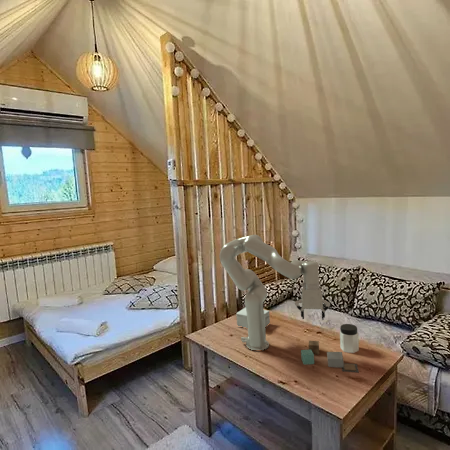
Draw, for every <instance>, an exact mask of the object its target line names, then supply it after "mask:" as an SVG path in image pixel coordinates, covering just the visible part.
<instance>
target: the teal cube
mask: <svg viewBox="0 0 450 450" xmlns="http://www.w3.org/2000/svg"><path fill="white" fill-rule="evenodd" d="M300 357H301V361H302V364H303V365H314V364H315V354H313V352H312V350H311V349H310V350H309V349H301V350H300Z"/></svg>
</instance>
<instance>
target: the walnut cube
mask: <svg viewBox="0 0 450 450" xmlns="http://www.w3.org/2000/svg"><path fill="white" fill-rule="evenodd" d="M310 349H311V350H312V352H313V354H314V355H318V356H319V355H320V341H319V340H308V350H310Z"/></svg>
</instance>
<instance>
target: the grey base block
mask: <svg viewBox="0 0 450 450" xmlns="http://www.w3.org/2000/svg"><path fill="white" fill-rule="evenodd" d="M326 356H327V358H326V359H327V366H328V368H342V367H343V368H344V363H345V362H344V356H343V351H326Z"/></svg>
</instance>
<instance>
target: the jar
mask: <svg viewBox="0 0 450 450" xmlns="http://www.w3.org/2000/svg"><path fill="white" fill-rule="evenodd" d="M339 328H340V329H339V344H340V347H339V348H340V349H341V351H342V352H344V353H347V354H348V353H349V354H355V353H357V352H359V351H360V349H359V348H360V347H359V333H358V327H357V325H356V324H355V325H354V324H351V323H344V324H341V325H340V327H339Z"/></svg>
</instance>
